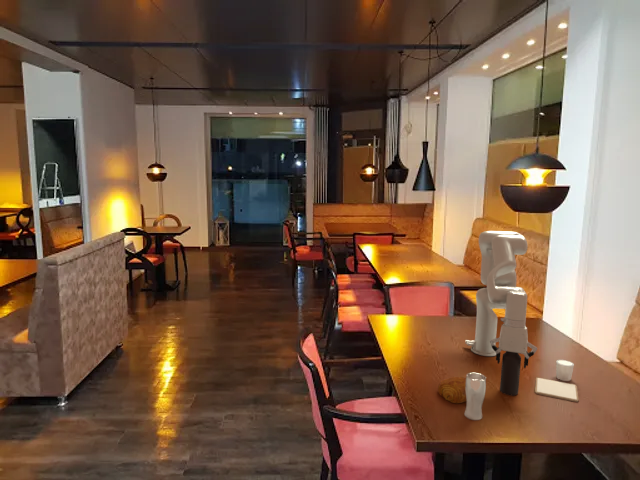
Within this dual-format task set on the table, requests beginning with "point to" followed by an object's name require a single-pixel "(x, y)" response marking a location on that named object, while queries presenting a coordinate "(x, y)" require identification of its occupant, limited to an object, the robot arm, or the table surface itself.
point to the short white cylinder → (564, 370)
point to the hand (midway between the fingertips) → (511, 364)
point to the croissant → (453, 389)
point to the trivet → (556, 389)
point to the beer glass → (474, 395)
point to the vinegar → (510, 373)
